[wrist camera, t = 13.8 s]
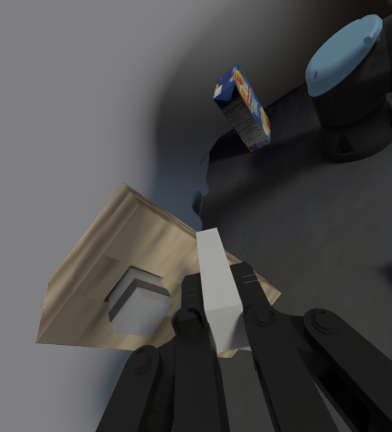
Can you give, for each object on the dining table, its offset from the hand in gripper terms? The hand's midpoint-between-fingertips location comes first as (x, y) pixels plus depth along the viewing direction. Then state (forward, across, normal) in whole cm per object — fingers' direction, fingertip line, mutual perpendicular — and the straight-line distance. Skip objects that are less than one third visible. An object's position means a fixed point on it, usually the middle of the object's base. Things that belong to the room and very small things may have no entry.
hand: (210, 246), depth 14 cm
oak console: (+21, +4, -33) cm, 40 cm away
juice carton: (+66, +28, -1) cm, 72 cm away
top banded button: (+6, -8, -10) cm, 14 cm away
